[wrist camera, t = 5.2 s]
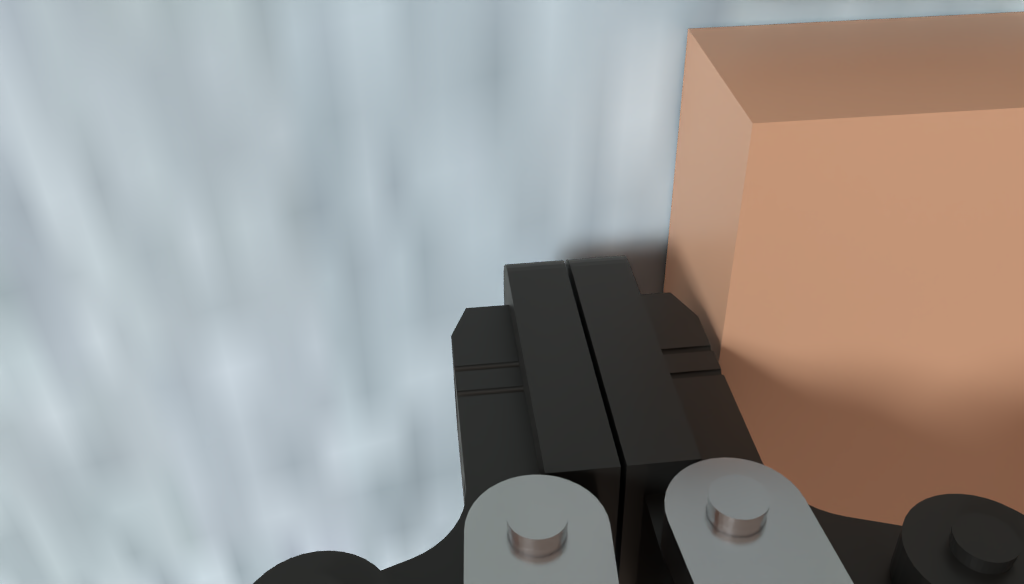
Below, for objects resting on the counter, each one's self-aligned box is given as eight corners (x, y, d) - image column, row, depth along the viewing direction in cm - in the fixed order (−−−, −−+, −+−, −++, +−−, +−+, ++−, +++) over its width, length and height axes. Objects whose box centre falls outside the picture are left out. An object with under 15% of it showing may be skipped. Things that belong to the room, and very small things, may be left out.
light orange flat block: (1329, -4, 12) (1519, 77, 10) (1128, 418, 16) (1234, 536, 14) (687, 28, 11) (752, 123, 9) (647, 458, 16) (686, 589, 13)
